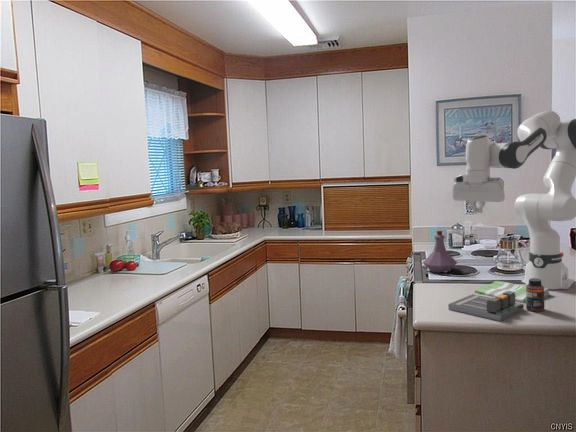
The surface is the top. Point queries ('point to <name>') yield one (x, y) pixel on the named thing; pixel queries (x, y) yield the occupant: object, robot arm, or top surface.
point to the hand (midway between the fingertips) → (478, 212)
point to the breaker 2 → (510, 297)
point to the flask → (439, 256)
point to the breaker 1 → (493, 305)
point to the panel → (483, 308)
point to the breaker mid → (503, 300)
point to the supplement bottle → (535, 295)
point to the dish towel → (502, 287)
